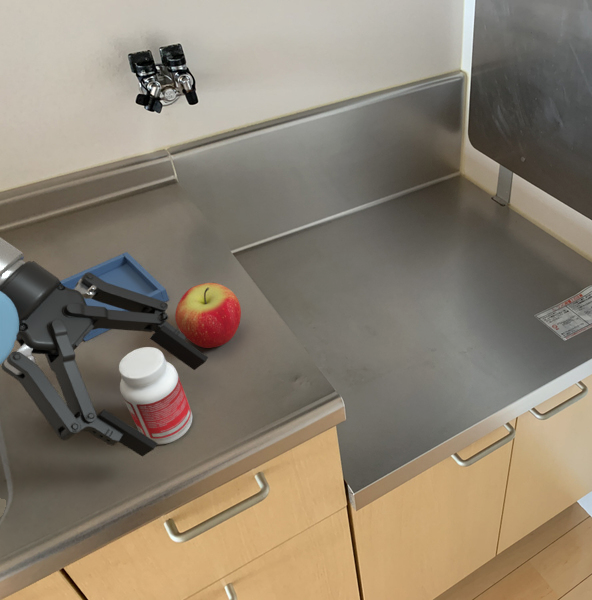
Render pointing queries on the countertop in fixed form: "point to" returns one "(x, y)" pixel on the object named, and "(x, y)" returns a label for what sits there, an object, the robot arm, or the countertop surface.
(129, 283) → the medicine tray
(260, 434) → the countertop surface
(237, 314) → the apple
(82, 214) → the countertop surface
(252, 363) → the countertop surface
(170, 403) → the pill bottle
